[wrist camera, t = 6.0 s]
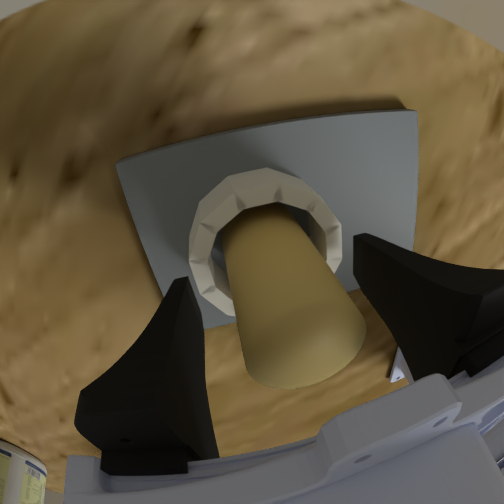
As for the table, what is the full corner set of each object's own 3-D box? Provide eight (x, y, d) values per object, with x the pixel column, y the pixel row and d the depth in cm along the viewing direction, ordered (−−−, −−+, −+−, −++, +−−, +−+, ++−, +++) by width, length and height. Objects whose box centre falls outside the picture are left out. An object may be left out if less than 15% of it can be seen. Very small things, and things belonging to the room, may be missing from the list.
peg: (293, 192, 15) (372, 286, 8) (299, 259, 17) (360, 369, 10) (213, 209, 15) (232, 321, 8) (229, 275, 17) (255, 399, 10)
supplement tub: (-13, 445, 28) (-26, 518, 14) (-15, 427, 25) (-33, 516, 10) (43, 473, 33) (38, 546, 19) (52, 461, 30) (46, 550, 15)
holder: (406, 108, 14) (446, 117, 11) (402, 264, 20) (429, 292, 17) (119, 159, 14) (99, 179, 11) (180, 323, 19) (180, 364, 16)
